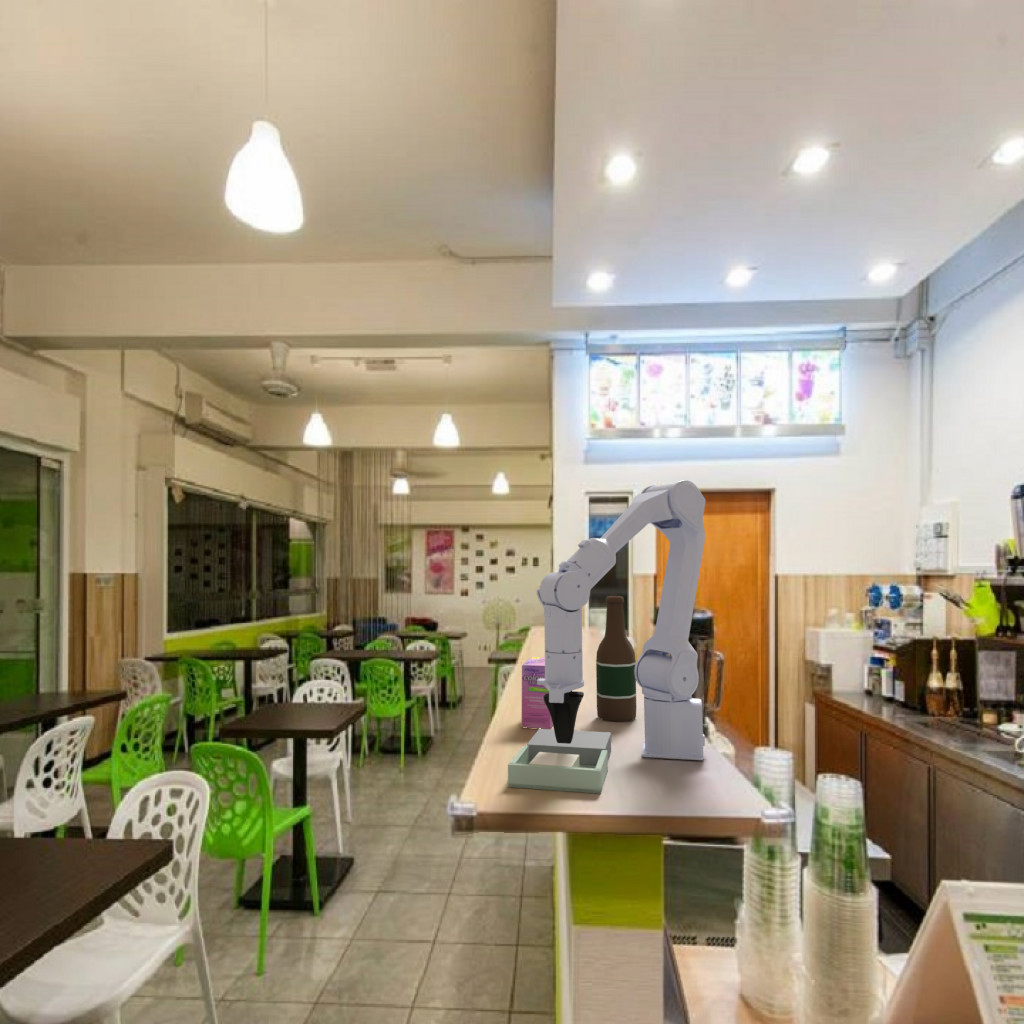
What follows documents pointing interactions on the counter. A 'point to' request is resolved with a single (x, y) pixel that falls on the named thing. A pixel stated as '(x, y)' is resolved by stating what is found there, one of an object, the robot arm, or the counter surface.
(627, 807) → the counter surface
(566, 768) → the bin
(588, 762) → the bench plate
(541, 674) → the box
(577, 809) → the counter surface
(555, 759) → the tile
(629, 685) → the beer bottle
